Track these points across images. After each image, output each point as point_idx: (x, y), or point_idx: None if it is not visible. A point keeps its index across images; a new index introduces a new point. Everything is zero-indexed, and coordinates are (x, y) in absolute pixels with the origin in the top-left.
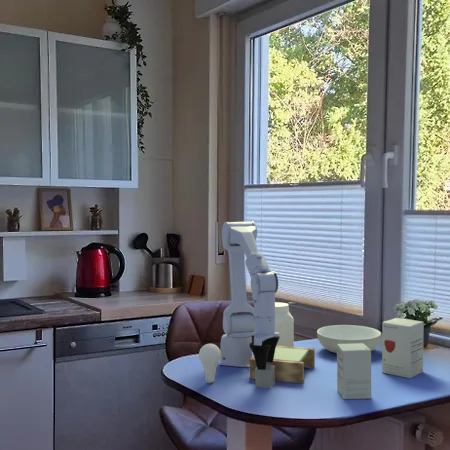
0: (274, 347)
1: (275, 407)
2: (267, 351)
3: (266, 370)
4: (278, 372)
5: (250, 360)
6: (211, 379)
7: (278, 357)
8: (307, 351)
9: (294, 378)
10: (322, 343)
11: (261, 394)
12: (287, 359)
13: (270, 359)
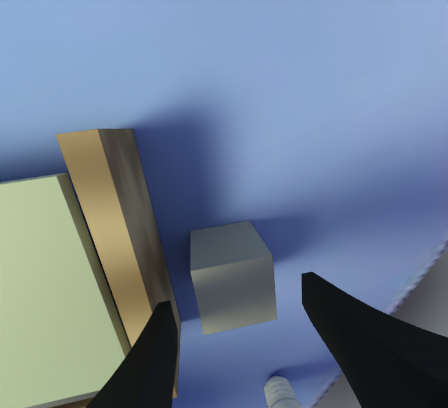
0: (148, 378)
1: (431, 125)
2: (439, 336)
3: (273, 271)
4: (153, 248)
5: (177, 387)
6: (289, 385)
7: (59, 315)
8: None
9: (137, 170)
10: None
11: (322, 219)
12: (66, 256)
13: (171, 319)
